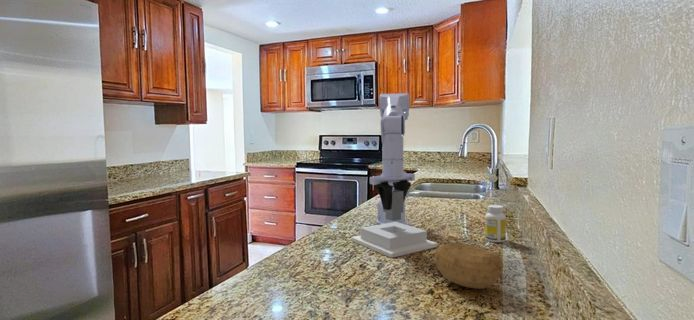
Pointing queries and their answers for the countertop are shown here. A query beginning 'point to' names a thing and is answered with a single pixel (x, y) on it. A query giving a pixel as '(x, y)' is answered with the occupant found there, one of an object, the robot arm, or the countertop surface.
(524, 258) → the countertop surface
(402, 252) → the bracket board
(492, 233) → the supplement bottle
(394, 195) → the grey tall block
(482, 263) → the potato
